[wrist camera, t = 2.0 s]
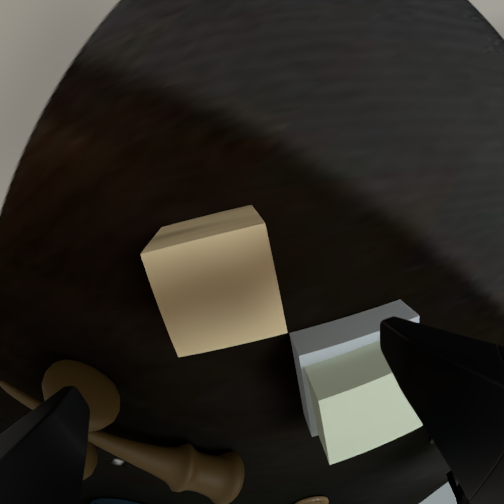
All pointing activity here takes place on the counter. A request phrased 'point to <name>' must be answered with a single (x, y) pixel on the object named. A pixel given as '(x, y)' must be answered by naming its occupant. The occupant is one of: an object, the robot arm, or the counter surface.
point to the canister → (112, 501)
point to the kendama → (138, 453)
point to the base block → (339, 343)
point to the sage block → (357, 403)
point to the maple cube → (215, 281)
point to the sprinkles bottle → (314, 500)
